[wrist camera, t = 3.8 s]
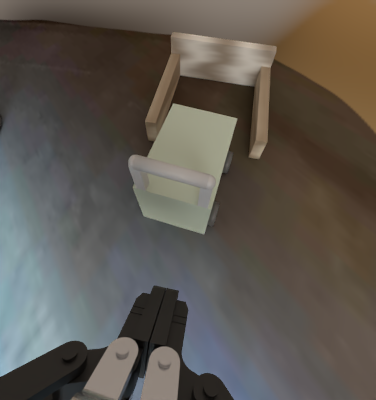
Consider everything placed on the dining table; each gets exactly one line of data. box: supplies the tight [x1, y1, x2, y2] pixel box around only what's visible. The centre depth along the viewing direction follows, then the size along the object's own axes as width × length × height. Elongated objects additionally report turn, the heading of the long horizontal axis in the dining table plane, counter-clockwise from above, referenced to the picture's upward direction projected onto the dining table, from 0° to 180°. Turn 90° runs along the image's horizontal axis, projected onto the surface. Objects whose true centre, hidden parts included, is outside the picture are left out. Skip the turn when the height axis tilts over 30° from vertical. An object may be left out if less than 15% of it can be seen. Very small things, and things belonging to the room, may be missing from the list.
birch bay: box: [145, 32, 276, 159], centre depth 28 cm, size 13×14×5 cm
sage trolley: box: [128, 103, 237, 234], centre depth 21 cm, size 8×10×10 cm
